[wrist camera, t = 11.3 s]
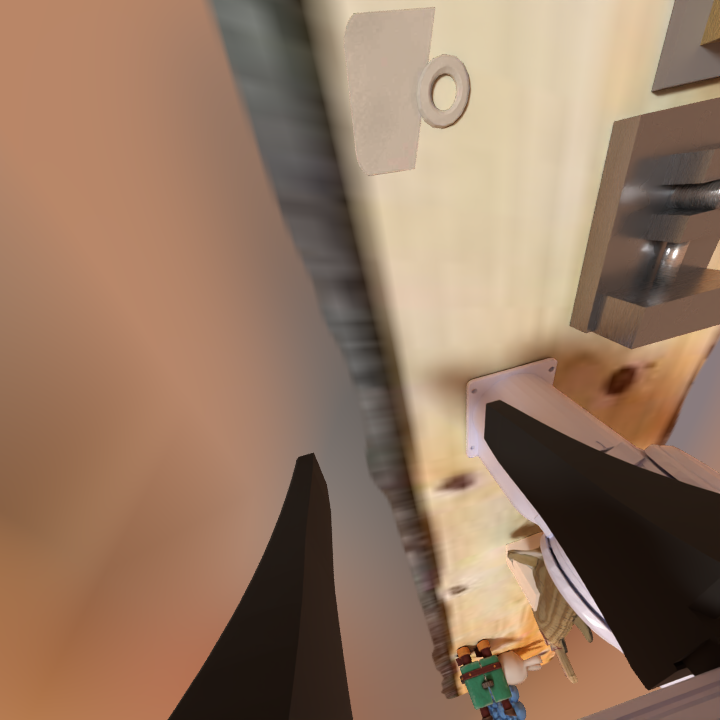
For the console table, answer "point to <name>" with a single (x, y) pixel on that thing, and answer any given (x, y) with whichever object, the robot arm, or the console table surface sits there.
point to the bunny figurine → (517, 666)
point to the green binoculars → (478, 683)
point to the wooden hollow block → (712, 25)
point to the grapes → (519, 708)
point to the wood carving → (544, 598)
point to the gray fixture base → (655, 230)
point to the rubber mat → (687, 47)
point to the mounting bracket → (396, 86)
